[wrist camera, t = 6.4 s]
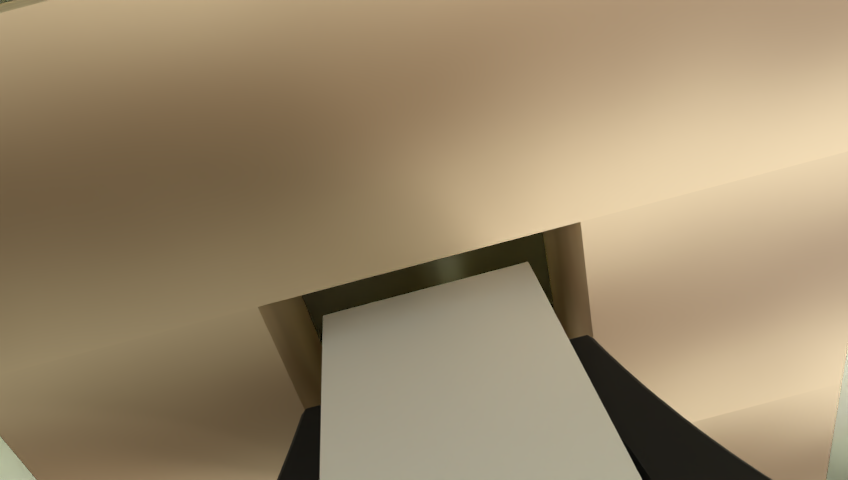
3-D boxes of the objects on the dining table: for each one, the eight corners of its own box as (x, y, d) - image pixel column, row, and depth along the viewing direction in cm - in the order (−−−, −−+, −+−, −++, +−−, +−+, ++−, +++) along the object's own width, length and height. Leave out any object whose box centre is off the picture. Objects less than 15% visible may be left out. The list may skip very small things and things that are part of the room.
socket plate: (749, 439, 18) (817, 529, 16) (228, 576, 18) (211, 689, 16) (791, -206, 10) (943, -237, 8) (-135, 39, 10) (-290, 89, 8)
